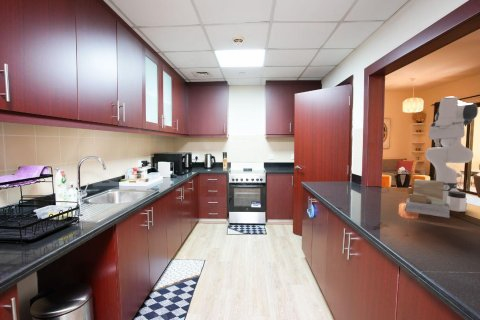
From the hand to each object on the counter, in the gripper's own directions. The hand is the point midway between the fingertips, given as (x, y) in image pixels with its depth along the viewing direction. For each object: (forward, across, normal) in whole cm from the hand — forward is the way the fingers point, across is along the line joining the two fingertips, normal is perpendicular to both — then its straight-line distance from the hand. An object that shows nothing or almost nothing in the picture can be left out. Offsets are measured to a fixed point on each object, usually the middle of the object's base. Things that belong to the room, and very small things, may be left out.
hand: (444, 146), depth 147 cm
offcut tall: (+40, -1, +14) cm, 42 cm away
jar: (+40, -1, -11) cm, 41 cm away
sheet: (+40, -1, +8) cm, 40 cm away
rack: (+41, -3, +10) cm, 43 cm away
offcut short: (+40, -7, +7) cm, 41 cm away
